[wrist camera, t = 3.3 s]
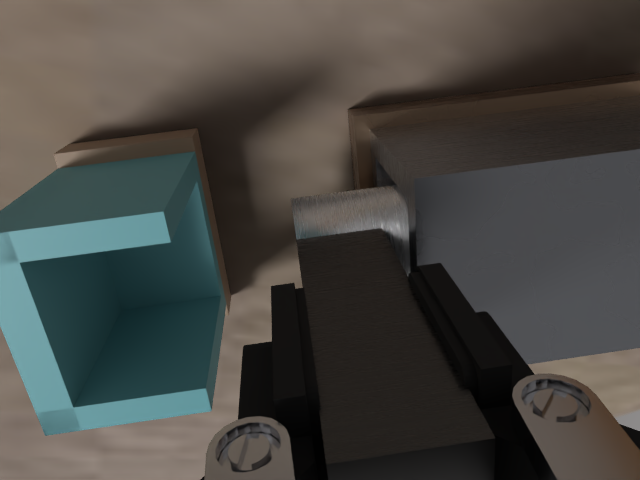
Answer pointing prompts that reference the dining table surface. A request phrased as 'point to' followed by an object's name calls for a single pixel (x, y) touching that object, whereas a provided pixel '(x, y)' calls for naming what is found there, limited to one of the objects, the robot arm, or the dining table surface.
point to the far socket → (115, 284)
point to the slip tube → (381, 349)
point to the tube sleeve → (522, 204)
